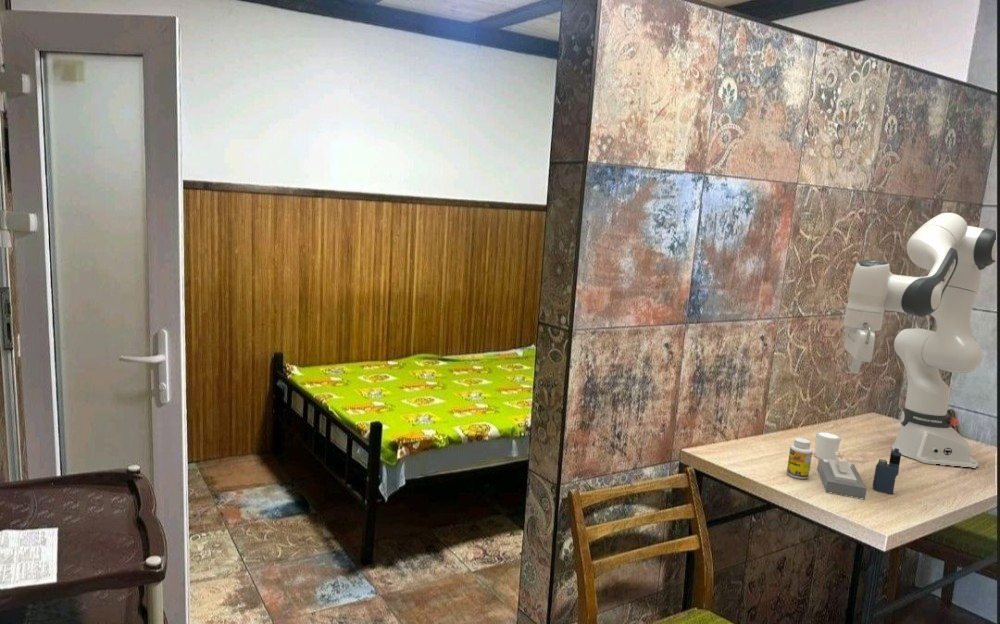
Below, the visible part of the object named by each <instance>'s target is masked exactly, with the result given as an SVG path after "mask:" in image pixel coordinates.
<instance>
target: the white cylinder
mask: <svg viewBox="0 0 1000 624" xmlns="http://www.w3.org/2000/svg"><path fill="white" fill-rule="evenodd" d="M841 440H842V437H841V436H840V435H838V434H835V433H832V432H827V431H816V432H815V445H814V446H815V447H814V448H815V449H814V456H815V457H816V458H817V459H818V460H819V459H827V460H828V459H832V460H836V456H835V452H836V451H839V448H840V444H841Z"/></svg>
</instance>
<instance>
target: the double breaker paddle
mask: <svg viewBox="0 0 1000 624" xmlns="http://www.w3.org/2000/svg"><path fill="white" fill-rule="evenodd" d="M835 456H836V462H837V465H838V466H839V469H840V471H841V472H848V470H847V463H846V462H847V460H846V458H845V456H844V454H843V452H842V450H840V451H839V450H838V451H836V452H835Z"/></svg>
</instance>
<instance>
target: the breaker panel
mask: <svg viewBox="0 0 1000 624" xmlns="http://www.w3.org/2000/svg"><path fill="white" fill-rule="evenodd" d="M846 463H847V470H848V472H841V471H840V469H839V466H838V465H837V462H836V460H832V459H828V460H827V459H819V458H818V461H817V467H816V468H817V472H818V474H819V477H820V481H821V482H822V485H824V486H823V488H825V489H824V491H825V490H826V491H825V493H827V492H832V493H831V494H833V493H837V494H836V495H838V494H842V495H841V496H844V495H847V496H846V497H849V496H853V497H852V498H854V497H858V498H857V499H860V498H863V499H862V500H865V499H866V492H867V486H866V485H865V483H864V481H863V479H862V477H861V476H860V473H859V472H858V470H857V467H856V465H855V464H852V463H850V462H848V461H846Z"/></svg>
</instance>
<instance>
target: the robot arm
mask: <svg viewBox="0 0 1000 624" xmlns="http://www.w3.org/2000/svg"><path fill="white" fill-rule="evenodd" d="M996 231H997V230H995V229H993V228H983V227H982V228H981V227H979V226H972V225H968V223H967V221H966V220H965V219H964V218H963V217H962V216H961V215H959V214H957V213H954V212H942V213H940V214H938V215H936V216H934V217H933V218H930V219H929V220H928V221H926V222H925V223H924V224H922V225H921V226H920V227H918V229H916V230H915V232H914V233H913V234H912V235H911V236H910V237H909V239H908V241H907V243H906V252H907V256H908V258H909V259H910V261H911V262H912V263H913V264H914V265H916V266H917V267H918V268H920V269H924V270H927V271H929V272H928V274H927V275H926V276H925V275H924V276H910V275H900V274H894V273H893V272H891V271H890V263H889V262H888V261H886V260H882V259H863V260H862V259H861V260H860V261H858V262H856V264H855V267H854V269H853V272H852V275H851V278H850V283H849V289H848V295H849V296H848V297H849V298H848V302H847V304H846V306H845V312H844V318H843V322H842V323H843V324H842V325H843V326H844V329H845V330H844V339H843V346H844V350H845V351H846V352H847V353H848V354H850V357H849V359H850V360H849V362H850V365H849V371H850V372H851V374H856V375H858V374H859V373H860V368H861V365H862V364H863V362H864V363H865V362H866V363H871V362H872V361H873V356H874V348H875V342H876V341H875V340H876V335H875V333H876V331H879V332H880V331H881V330H882V327H883V321H884V315H885V314H884V313H885V310H886V311H890V312H891V311H892V312H897V313H903V314H907V315H911V316H915V317H920V318H924V317H926V316H929V315H931V316H932V317H933V318H934V320H935V323H936V331H934V330H931V329H925V328H920V327H919V328H915V327H914V328H913V327H912V328H904V329H902V330H900V331H899V332H898V333H897V335H896V336H895V338H894V342H893V347H894V349H893V350H894V352H895V353H896V354H897V356H898V357H899V358H900V359H901V361H902V364H903V366H904V369H905V374H906V377H907V389H906V397H905V404H904V406H903V407H902V410H901V415H900V427H899V430H898V433H897V436H896V439H895V440H894V443H893V444H892V446H891V449H892V451H894V449H895V448H896V449H899V452H900V453H901V456H905V457H907V458H911V459H913V460H916V461H918V462H921V463H924V464H928V465H936V464H940V465H939V466H945V465H951V466H950V467H954V466H961V467H960V468H962V467H977V466H978V467H979V463H978V461H977V460H976V459H975V458H974V457H973V456H971V447H970V444H969V442H968V441H967V439H965V438H964V437H963V436H962V435H961V434H959V432H958V431H957V430H955V429H954V428H953V427H952V426H954V427H955V426H958V425H959V420H958V419H957V418H955V417H952V415H950V414H948V408H949V402H950V396H951V389H950V387H949V385H948V384H947V383H946V382H945V381H944V380H943V379H942V376H941V374H940V370H941V371H945V372H949V373H957V374H958V373H959V374H969V373H972V372H974V371H975V370H976V369H977V368H979V366H980V365H981V362H982V359H983V351H982V348H981V346H980V345H979V344H978V343H977V341H976V340H975V337H974V336H973V333H972V327H971V316H972V315H971V314H972V311H973V307H974V304H975V300H976V297H977V294H978V291H979V288H980V284H981V279H982V271H983V270H985V269H986V268H987V267H989V266H991V265H993V264H994V263H996V261H995V253H996V241H995V240H996Z"/></svg>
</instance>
